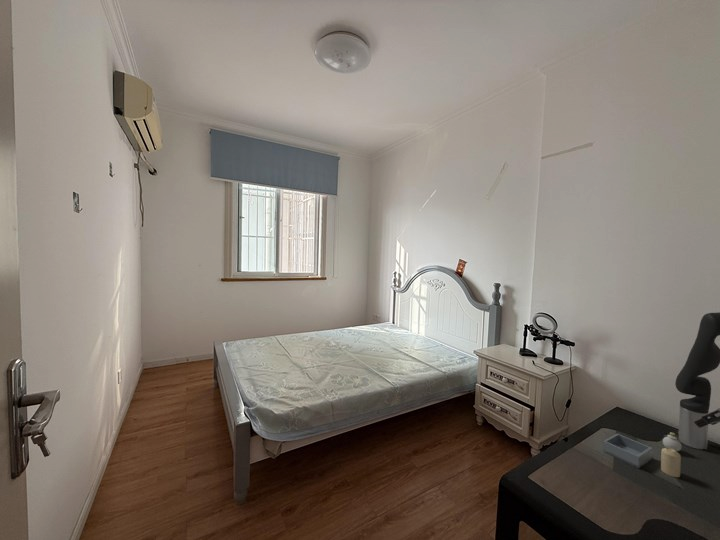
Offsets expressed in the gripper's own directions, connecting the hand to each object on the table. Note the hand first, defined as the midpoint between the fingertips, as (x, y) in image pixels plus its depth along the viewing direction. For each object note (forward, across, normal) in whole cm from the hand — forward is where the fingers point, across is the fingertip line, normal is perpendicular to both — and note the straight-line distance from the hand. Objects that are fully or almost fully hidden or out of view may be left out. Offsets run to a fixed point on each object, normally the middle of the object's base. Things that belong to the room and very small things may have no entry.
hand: (703, 423), depth 113 cm
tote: (+34, +3, 0) cm, 34 cm away
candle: (+25, -1, +10) cm, 27 cm away
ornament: (+30, -22, +3) cm, 37 cm away
